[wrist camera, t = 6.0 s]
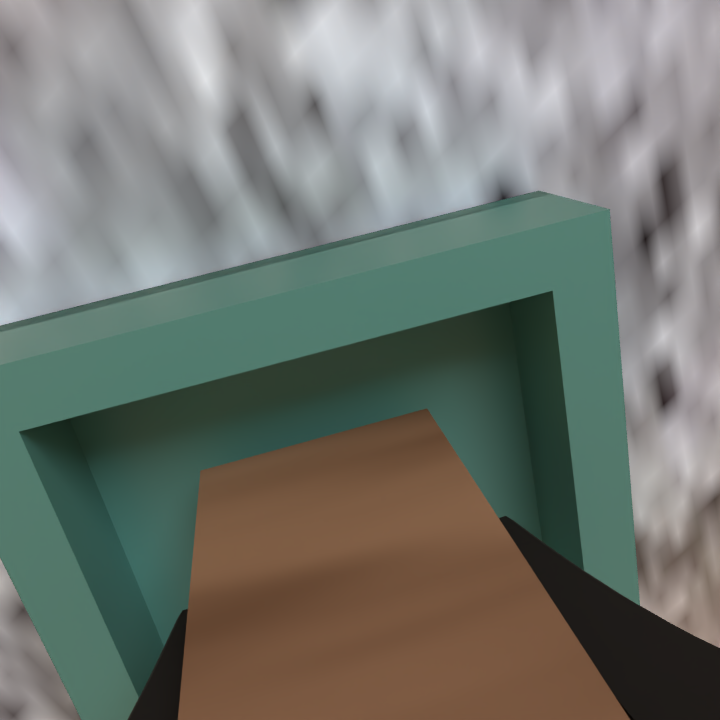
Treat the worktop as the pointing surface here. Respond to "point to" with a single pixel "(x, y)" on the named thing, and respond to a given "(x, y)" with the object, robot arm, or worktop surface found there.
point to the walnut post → (371, 592)
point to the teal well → (307, 410)
